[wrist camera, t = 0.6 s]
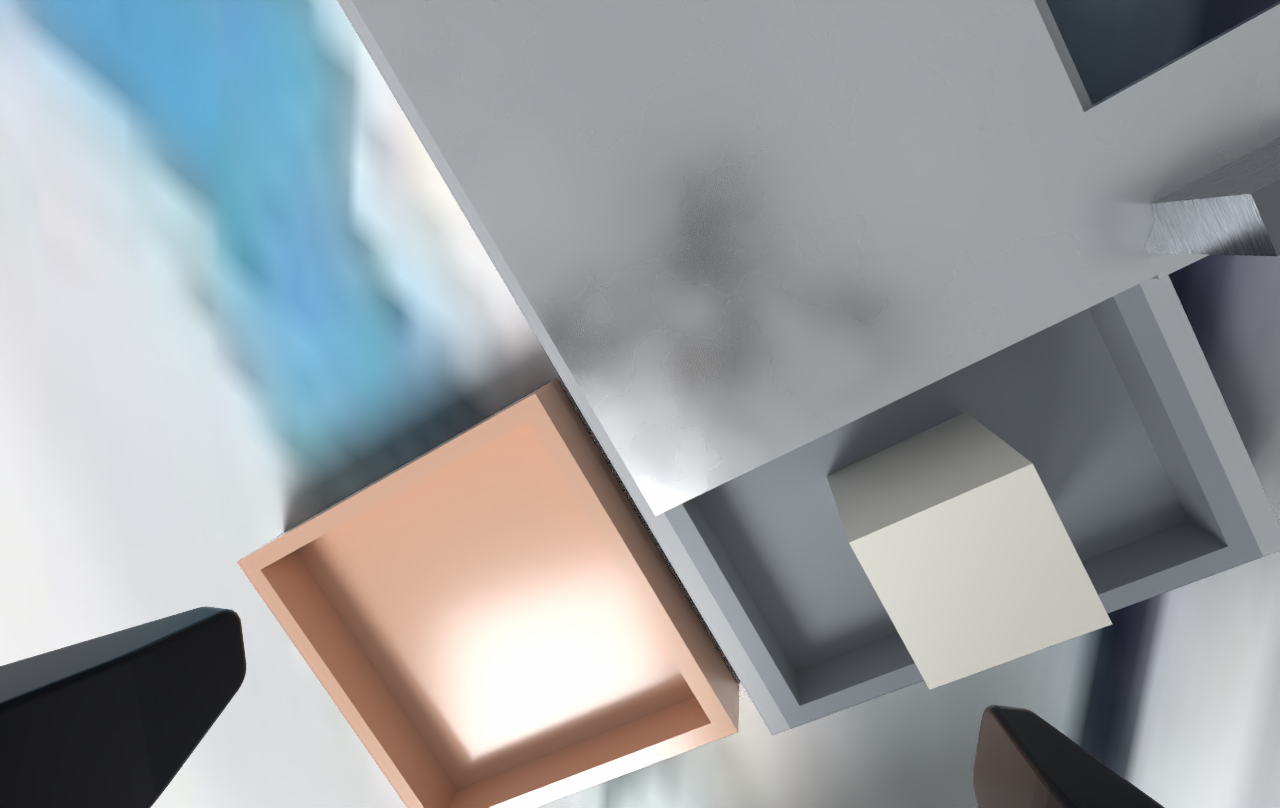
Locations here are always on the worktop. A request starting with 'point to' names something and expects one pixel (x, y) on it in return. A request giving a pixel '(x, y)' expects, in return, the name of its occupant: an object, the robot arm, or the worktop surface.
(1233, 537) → the bin
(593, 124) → the lid
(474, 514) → the bin
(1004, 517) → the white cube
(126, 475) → the worktop surface
